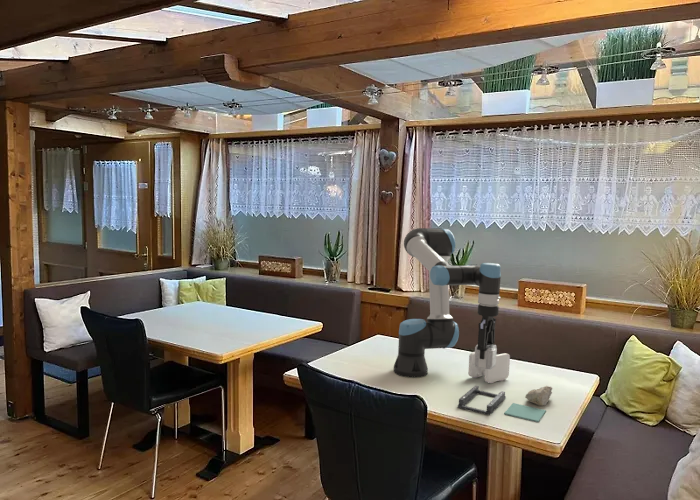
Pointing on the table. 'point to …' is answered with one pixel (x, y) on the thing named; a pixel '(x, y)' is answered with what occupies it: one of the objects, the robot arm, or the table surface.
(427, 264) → the robot arm
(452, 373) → the table surface
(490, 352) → the grey cube with hole
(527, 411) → the pad
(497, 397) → the dark grey open frame
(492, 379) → the cable organizer
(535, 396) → the stone
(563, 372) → the table surface
